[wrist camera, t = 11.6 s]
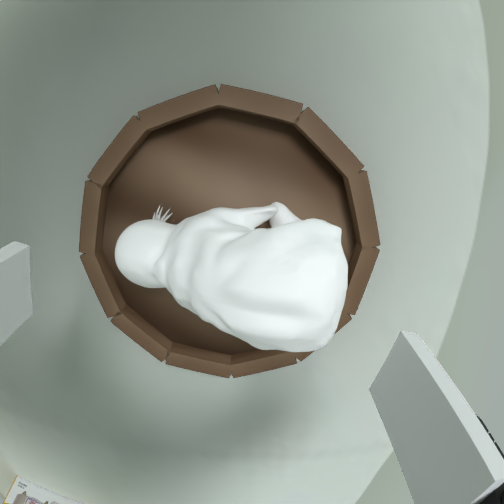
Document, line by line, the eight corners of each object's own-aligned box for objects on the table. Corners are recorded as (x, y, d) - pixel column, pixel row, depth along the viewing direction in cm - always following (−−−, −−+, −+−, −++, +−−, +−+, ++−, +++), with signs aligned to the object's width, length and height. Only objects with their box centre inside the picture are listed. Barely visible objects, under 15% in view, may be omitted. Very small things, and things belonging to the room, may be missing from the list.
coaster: (121, 76, 17) (108, 69, 15) (397, 142, 18) (411, 143, 16) (89, 324, 22) (79, 337, 20) (315, 375, 24) (319, 391, 22)
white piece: (337, 387, 12) (78, 345, 13) (318, 300, 20) (142, 279, 21) (374, 245, 10) (60, 214, 11) (334, 204, 18) (141, 187, 19)
